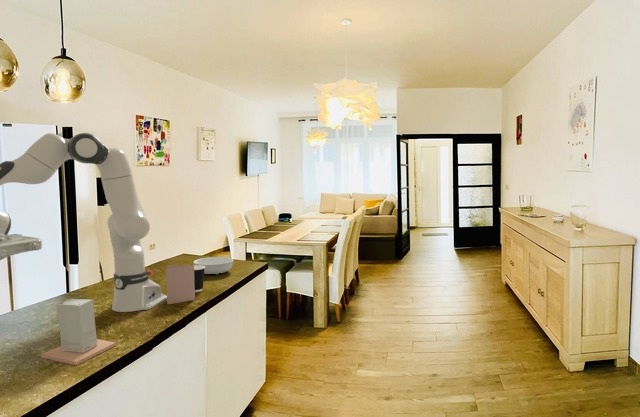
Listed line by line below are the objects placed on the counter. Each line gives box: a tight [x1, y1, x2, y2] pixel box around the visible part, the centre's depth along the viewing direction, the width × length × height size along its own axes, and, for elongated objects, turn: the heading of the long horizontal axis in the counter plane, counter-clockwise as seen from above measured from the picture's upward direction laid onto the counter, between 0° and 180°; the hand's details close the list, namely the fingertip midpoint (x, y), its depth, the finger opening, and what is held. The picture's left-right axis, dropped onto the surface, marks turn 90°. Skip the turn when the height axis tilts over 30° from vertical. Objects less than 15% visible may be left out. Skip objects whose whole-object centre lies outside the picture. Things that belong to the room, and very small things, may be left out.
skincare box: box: [56, 298, 98, 353], centre depth 126 cm, size 8×6×15 cm
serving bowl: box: [192, 256, 234, 275], centre depth 223 cm, size 21×21×7 cm
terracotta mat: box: [40, 338, 117, 366], centre depth 127 cm, size 14×14×1 cm
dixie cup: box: [194, 265, 205, 293], centre depth 190 cm, size 8×8×11 cm
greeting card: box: [165, 264, 196, 305], centre depth 174 cm, size 11×7×15 cm, turn 89°
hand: (23, 250), depth 132 cm, fingers open, 8 cm apart
